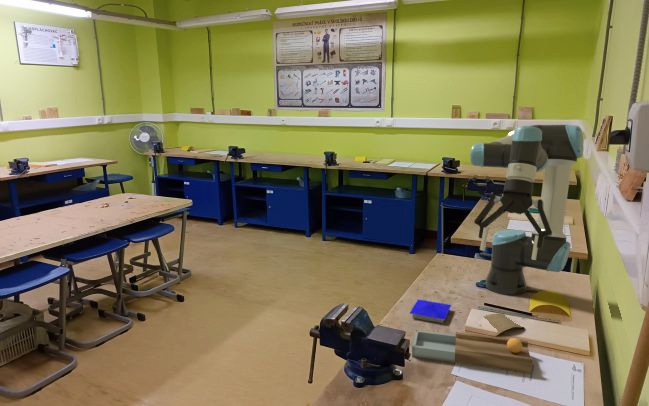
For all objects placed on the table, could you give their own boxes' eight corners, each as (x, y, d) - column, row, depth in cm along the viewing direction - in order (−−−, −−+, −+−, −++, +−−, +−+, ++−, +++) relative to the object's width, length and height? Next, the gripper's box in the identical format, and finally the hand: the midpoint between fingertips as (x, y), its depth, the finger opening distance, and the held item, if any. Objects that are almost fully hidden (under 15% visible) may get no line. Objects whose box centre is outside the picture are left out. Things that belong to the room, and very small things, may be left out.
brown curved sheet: (506, 317, 153) (507, 309, 152) (529, 330, 144) (529, 322, 143) (472, 325, 148) (472, 318, 147) (493, 339, 139) (494, 331, 138)
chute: (455, 344, 135) (456, 332, 134) (526, 354, 129) (527, 341, 128) (454, 362, 126) (455, 349, 125) (531, 373, 120) (532, 359, 119)
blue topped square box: (409, 319, 153) (409, 304, 152) (417, 305, 163) (418, 291, 162) (444, 325, 148) (445, 311, 147) (450, 310, 158) (451, 296, 157)
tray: (415, 339, 139) (415, 330, 138) (455, 344, 135) (455, 335, 134) (412, 356, 129) (412, 346, 129) (454, 362, 126) (455, 352, 125)
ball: (505, 347, 128) (506, 334, 127) (521, 349, 126) (521, 336, 125) (507, 354, 124) (508, 341, 123) (522, 356, 123) (523, 343, 122)
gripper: (471, 174, 128) (459, 245, 127) (568, 182, 115) (555, 262, 113) (478, 179, 135) (466, 248, 133) (570, 188, 121) (558, 264, 119)
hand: (507, 255), depth 123 cm, fingers open, 13 cm apart
